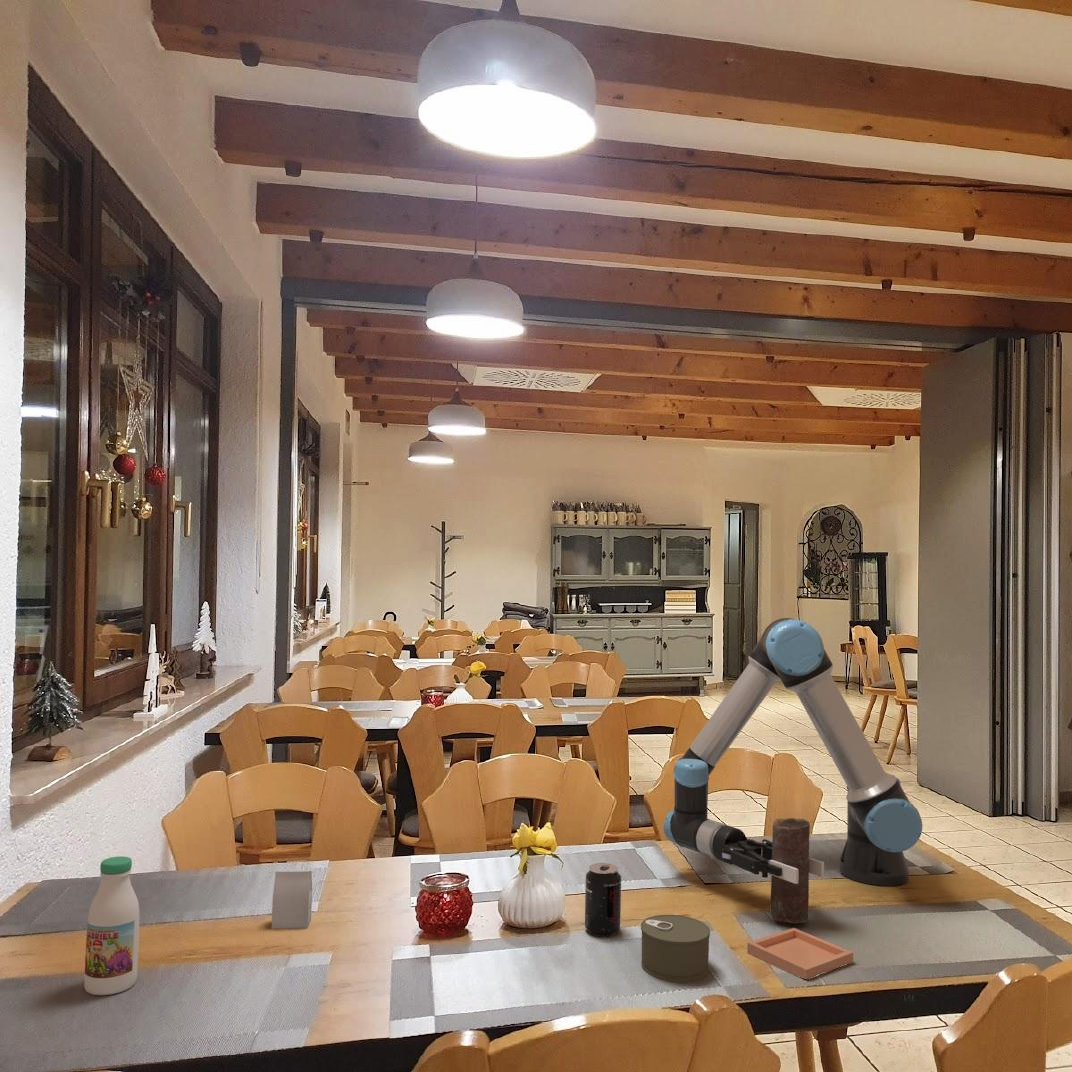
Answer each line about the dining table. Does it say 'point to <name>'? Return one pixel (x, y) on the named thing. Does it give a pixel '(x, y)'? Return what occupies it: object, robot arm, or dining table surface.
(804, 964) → the dish
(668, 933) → the can
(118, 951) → the milk bottle
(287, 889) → the gray rectangular block
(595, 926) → the beverage can
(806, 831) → the candle
